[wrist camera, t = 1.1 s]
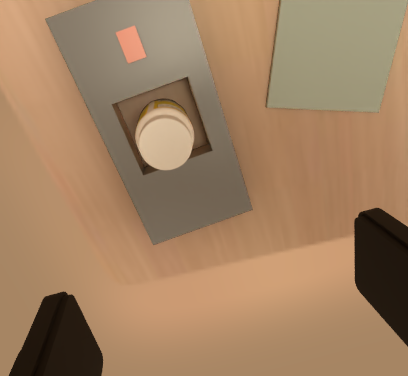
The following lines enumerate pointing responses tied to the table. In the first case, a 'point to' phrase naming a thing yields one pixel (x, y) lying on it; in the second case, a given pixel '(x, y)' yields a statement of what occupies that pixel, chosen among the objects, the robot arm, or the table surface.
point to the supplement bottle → (164, 134)
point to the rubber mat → (333, 53)
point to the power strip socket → (145, 81)
